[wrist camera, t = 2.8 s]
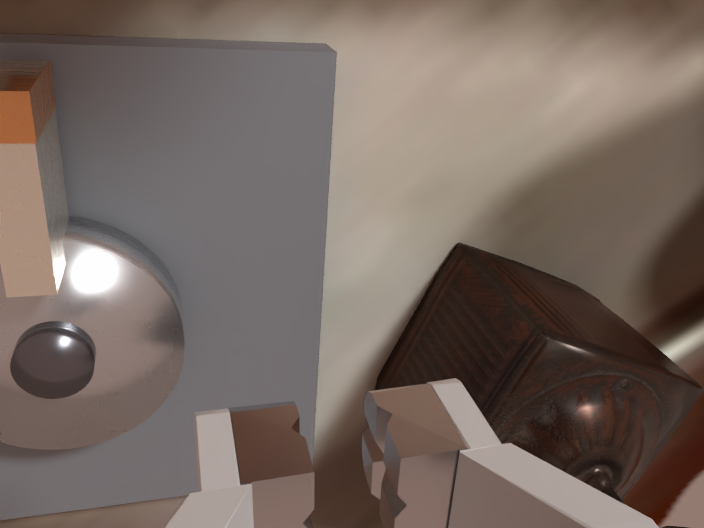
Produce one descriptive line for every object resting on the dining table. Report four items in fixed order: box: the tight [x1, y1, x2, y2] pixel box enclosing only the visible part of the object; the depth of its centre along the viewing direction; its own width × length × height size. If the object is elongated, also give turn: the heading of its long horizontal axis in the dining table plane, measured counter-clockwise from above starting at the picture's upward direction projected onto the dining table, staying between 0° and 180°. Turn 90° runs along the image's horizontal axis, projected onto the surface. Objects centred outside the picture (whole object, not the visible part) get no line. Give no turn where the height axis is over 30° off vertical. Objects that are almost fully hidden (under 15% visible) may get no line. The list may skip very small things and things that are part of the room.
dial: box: [0, 60, 185, 450], centre depth 25 cm, size 16×10×5 cm, turn 176°
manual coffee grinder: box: [375, 243, 704, 528], centre depth 32 cm, size 16×11×18 cm
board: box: [0, 33, 337, 520], centre depth 30 cm, size 23×23×2 cm
